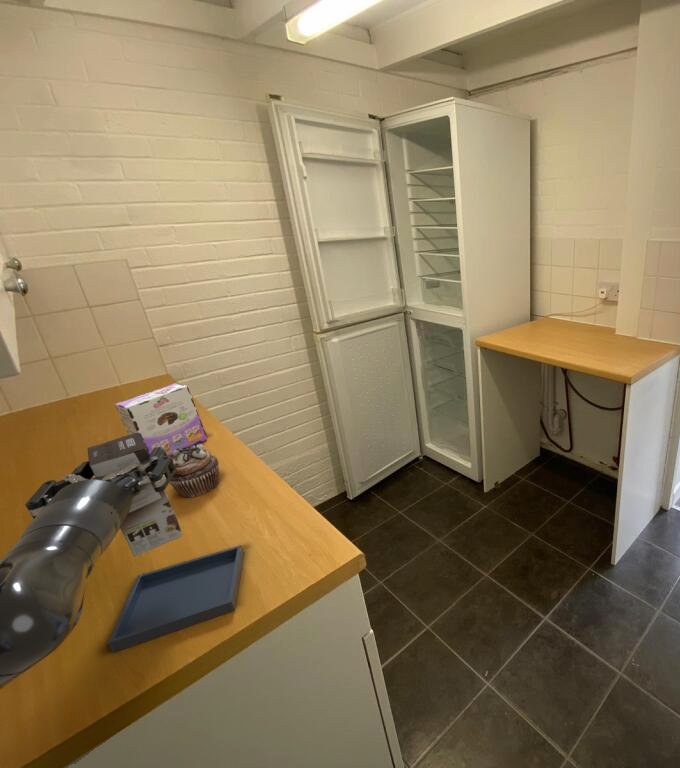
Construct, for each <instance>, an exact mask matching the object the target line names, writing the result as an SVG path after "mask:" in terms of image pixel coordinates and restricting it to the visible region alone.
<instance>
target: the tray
mask: <svg viewBox="0 0 680 768" xmlns="http://www.w3.org/2000/svg"><path fill="white" fill-rule="evenodd" d="M244 558H245V550H244V548H243V546H242V544H240V545H237V546H232V547H229V548H226V549H223V550H220V551H216V552H213V553H209V554H206V555H203V556H199V557H196V558H193V559H192V558H191V559H189V560H186V561H183V562H178V563H174V564H172V565H169V566H166V567H163V568H158V569H156V570H155V569H154V570H152V571H148V572H145V573H142V574H138V575H137V577H136V579H135V580H134V583H133V586H132V588H131V590H130V593H129V595H128V596H127V598H126V601H125V604H124V606H123V608H122V610H121V613H120V614H119V617H118V619H117V621H116V623H115V625H114V628H113V630H112V633H111V635H110V637H109V639H108V641H107V645H108V646H109V648H110V650H111V652H112V653H116V652H120V651H122V650H125V649H128V648H130V647H134V646H136V645H140V644H143V643H146V642H148V641H151V640H154V639H157V638H160V637H163V636H165V635H168V634H172V633H174V632H177V631H180V630H183V629H186V628H189V627H192V626H194V625H198V624H200V623H203V622H206V621H209V620H212V619H215V618H217V617H218V618H219V617H221V616H223V615H227V614H230V613H232V612H235V611H236V607H237V601H238V595H239V588H240V583H241V577H242V571H243V564H244Z"/></svg>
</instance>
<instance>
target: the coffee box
mask: <svg viewBox="0 0 680 768" xmlns="http://www.w3.org/2000/svg"><path fill="white" fill-rule="evenodd" d="M149 455H150V454H149V451H148V449H147V447H146V445H145V443H144V441H143V439H142V437H141V435H140V433H134V434H131V435H129V434H127V435H124V436H121V437H118V438H114V439H112V440H108V441H106V442H102V443H100V444H96V445H93V446H90V447H89V446H88V447H87V457H88V461H89V465H90V467H91V469H92V471H93V473H94V478H95V477H100V476H107V475H109V474H111V473H117V472H118V471H120V470H122V469H124V468H126V467H127V466H129V465H131V464H133V463H135V464H140V463H141V462H143V461H145V460H147V458H148V457H149ZM145 471H146V473H149V472H150V471H151V468H150V466H148V467H146V469H145ZM129 475H131V476H132V477H134V478H136V477H135V475H134V473H133V472H132V473H130V474H129ZM173 507H174V506H173V504H172V502H171V500H170V498H169V496H168V493H167V490H166V489H165V490H163V491H161V492H155V490H154V488H150V489H145V490H141V492H140V493H139V494H138V495H136V496H135V497H134V498H133V499H132V504H131V508H130V511H129V513H128V515H127V516H126V518H125V520H124V522H123V523H122V525H121V527H120V528H119V530H121V533H122V535H123V536H124V539H125V541H126V543H127V545H128V547H129V550H130V551H131V553H132V556H133V557H138V556H141V555H142V554H144V553H147V552H149V551H152V550H154V549H156V548H159V547H160V546H163V545H165V544H167V543H170V542H172V541H175V540H178V539H179V538H181V537H182V536H183V535H184V534H183V532H182V529H181V526H180V523H179V520H178V518H177V515H176V512H175V510H174V508H173Z"/></svg>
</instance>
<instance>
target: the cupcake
mask: <svg viewBox="0 0 680 768" xmlns="http://www.w3.org/2000/svg"><path fill="white" fill-rule="evenodd" d="M172 460H173V462H174V465H175V467H176V469H177V470H176V472H175V474H174V475H173V477H172V479H171V480H170V482H169V485H170V486H171V487H172V488H173V489H174V491H175V492H176V493H177V494H178V496H179V497H180V498H182V499H183V498H184V499H191V498H192V499H193V498H197V497H202V496H203V495H206V494H207V493H209V492H211V490H212V491H214V489H216V488H217V487H218V486H217V485H220V483H221V477H220V469H219V467H220V466H219V465H220V463H219V460H218V458H217V457H216V455H212V453H211V451H210V450H208V449H206V448H205V447H204V445H203V444H201V443H195V444H192V445H189V446H187V447H184V448H177V449H176V450H175V451H173V456H172Z"/></svg>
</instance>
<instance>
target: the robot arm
mask: <svg viewBox="0 0 680 768" xmlns="http://www.w3.org/2000/svg"><path fill="white" fill-rule="evenodd" d="M172 459H173V456H170V455H168V456H167V454H166V452H165V450H164V449H161V447H156V448H154V449H153V450H152V452H151V453H150V455H149V457H148V458H147V460H145V461H143V462H141V463H140V464H135V463H133V464H131V465H129V466H127V467H126V468H124V469H122V470H120V471H118V472H117V473H111V474H109V475H107V476H100V477H95V475H94V473H93V471H92V469H91V467H90V465H89V460H88V461H87V460H86V461H82V463H81V464H80V465H79V466H77V467H76V468H74V470H73V471H72V472H71V473H70V474H66V475H64V476H62V479H61V480H57V481H56V479H50V480H46V481H45V482H43V483H42V484H41V485H40V486H39V487H38V489H37V490H36V491H35V492H34V494H32V496H31V497H30V498H29V499H28V500H27V502H26V503H25V504H24V506H25V507H26V509H27V511H28V512H29V514H30V516H31V517H32V521H31V522H30V523H29V524H28V526H27V527H26V528H25V529H24V531H23V533H22V534H21V536H20V538H19V540H18V541H17V542H16V543H15V545H13V546H12V548H11V549H10V550H8V552H7V553H6V554H5V555H4V557H3V558H2V559H1V560H0V690H2V689H3V688H5V687H6V686H7V685H9V684H10V683H12V682H13V681H15V680H16V679H17V678H19V677H20V676H21V675H23V674H24V673H26V672H28V671H29V670H30V669H31V668H33V667H34V666H36V665H37V664H38V663H40V662H42V661H43V660H45V658H47V657H48V656H50V655H52V654H53V652H54V651H56V650H57V649H58V648H59V647H60V646H61V645H62V644H63V643H64V642H65V640H66V639H67V638H68V637H69V636H70V634H71V633H72V631H74V629H75V628H76V626H77V624H78V622H79V620H80V618H81V615H82V611H83V604H84V599H85V593H86V585H87V584H86V583H87V579H88V578H89V577H90V575H91V573H92V571H93V570H94V569H95V566H96V564H97V563H98V561H99V559H100V558H101V557H102V556H103V555H104V553H105V552H106V551H107V550H108V549H109V547H110V546H111V544H112V542H113V540H114V539H115V538H116V536H117V534H118V533H119V530H120V527H121V525H122V523H123V522H124V520H125V518H126V516H127V515H128V513H129V511H130V508H131V504H132V499H133V498H134V497H135V496H136V495H138V494H139V493H140V492H141V490H145V489H150V488H154V490H155V492H161V491H163V490H166V489H167V488H168V486H169V485H170V483H169V482H170V480H171V479H172V477H173V475H174V474H175V472H176V470H177V469H176V467H175V465H174V462H173V460H172ZM148 466H150V468H151V471H150V472H149V473H146V471H145V469H146V467H148ZM132 472H133V473H134V475H135V477H136V478H134V477H132V476H131V475H129V474H130V473H132Z"/></svg>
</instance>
